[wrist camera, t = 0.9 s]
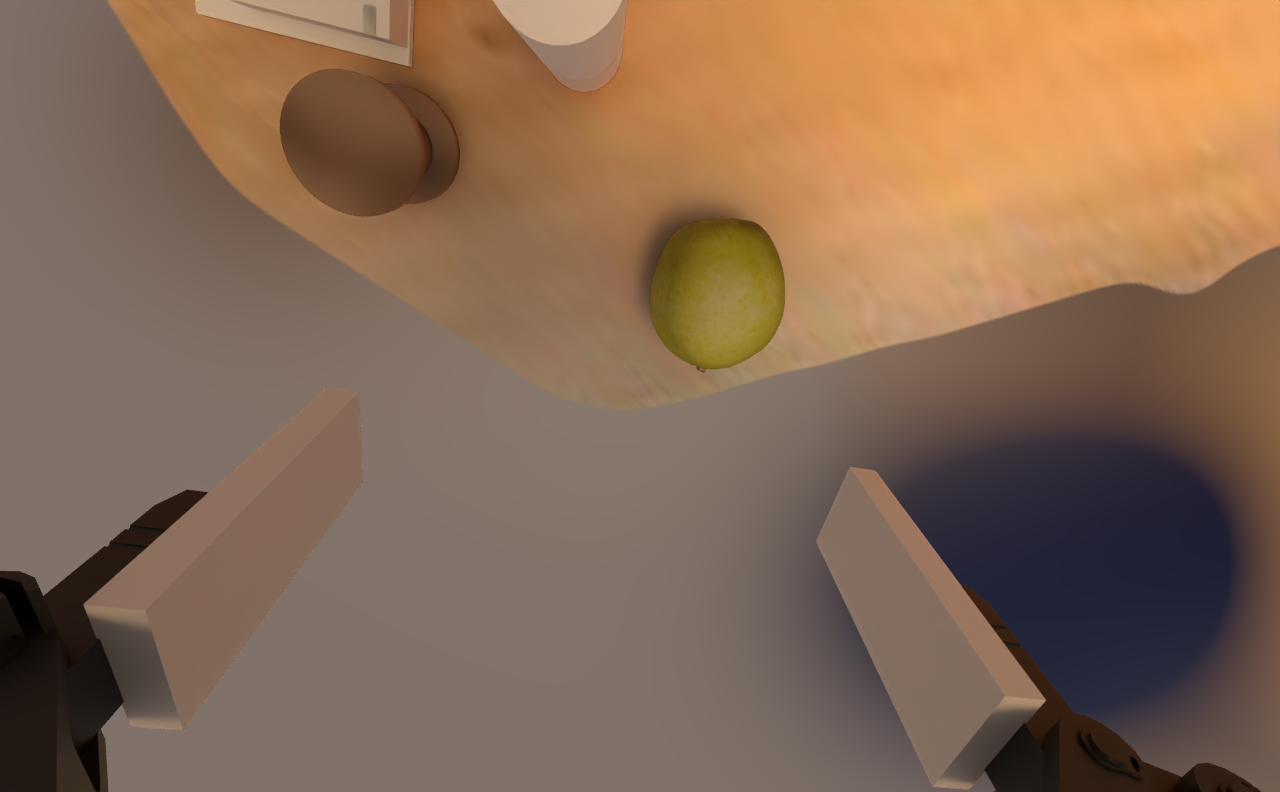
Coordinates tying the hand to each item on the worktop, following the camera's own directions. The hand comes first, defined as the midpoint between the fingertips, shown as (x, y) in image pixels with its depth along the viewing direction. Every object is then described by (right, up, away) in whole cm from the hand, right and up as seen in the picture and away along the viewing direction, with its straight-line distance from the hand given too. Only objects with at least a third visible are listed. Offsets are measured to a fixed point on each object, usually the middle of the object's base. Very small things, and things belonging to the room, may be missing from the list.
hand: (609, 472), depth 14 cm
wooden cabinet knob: (-13, +16, +16) cm, 26 cm away
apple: (+5, +10, +20) cm, 23 cm away
